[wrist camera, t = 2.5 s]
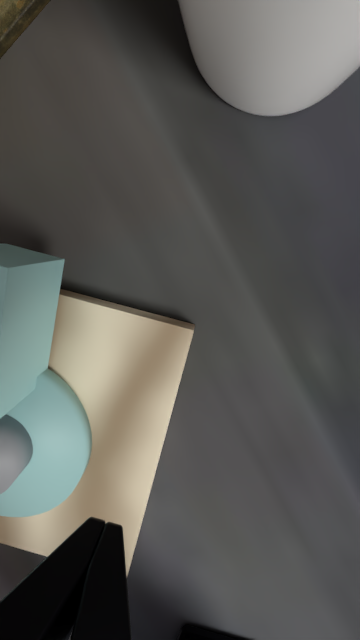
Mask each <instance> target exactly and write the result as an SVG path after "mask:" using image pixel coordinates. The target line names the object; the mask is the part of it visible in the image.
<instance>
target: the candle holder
mask: <svg viewBox="0 0 360 640" xmlns="http://www.w3.org/2000/svg"><path fill="white" fill-rule="evenodd" d="M178 3H179V7H180V11H181V15H182V19H183V23H184V27H185V31H186V35H187V39H188V42H189V46H190V49H191V52H192V55H193V58H194V60H195V63H196V65H197V67H198V69H199V71H200V73H201V75H202V76H203V78H204V80H205V81H206V82H207V84H208V85H209V86H210V88H211V89H212V90H213V91H214V92H215V93H216V94H217V95H218V96H219V97H220V98H221V99H223V100H224V101H225V102H227V103H228V104H230V105H231V106H233V107H235V108H237V109H239V110H241V111H244V112H247V113H250V114H254V115H260V116H281V115H287V114H291V113H295V112H298V111H301V110H303V109H306V108H308V107H310V106H312V105H314V104H316V103H317V102H319V101H321V100H322V99H324V98H325V97H326V96H328V95H329V94H331V93H332V92H333V91H334V90H335V89H337V88H338V87H339V86H340V85H341V84H342V83H343V82H345V81H346V80H347V79H348V78H349V77H350V76H351V75H352V74H353V73H354V72H355V71H356V70H357V69H359V68H360V0H178Z"/></svg>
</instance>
